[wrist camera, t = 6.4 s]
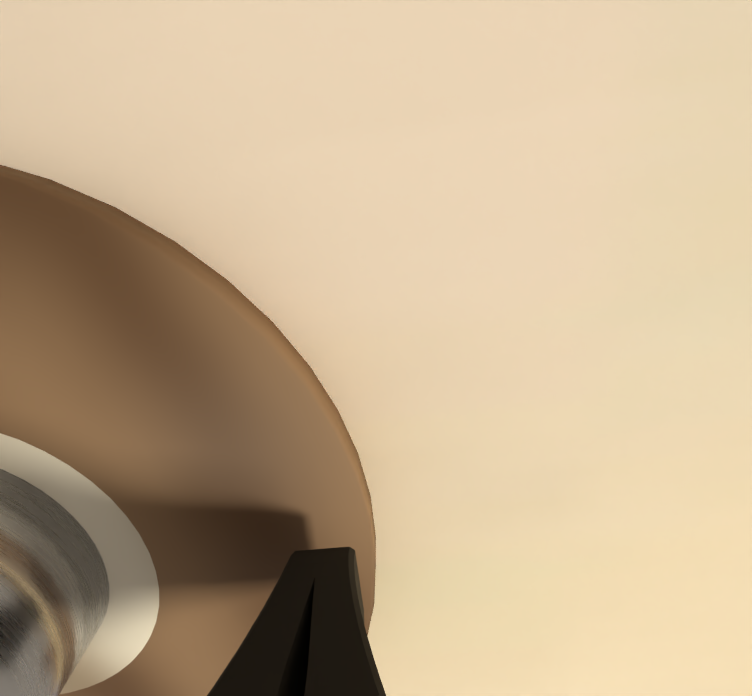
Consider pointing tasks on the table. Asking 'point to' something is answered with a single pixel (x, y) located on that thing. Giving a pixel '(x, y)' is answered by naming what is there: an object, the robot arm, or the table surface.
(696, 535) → the table surface
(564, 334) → the table surface
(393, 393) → the table surface
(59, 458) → the turntable
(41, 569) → the cover
